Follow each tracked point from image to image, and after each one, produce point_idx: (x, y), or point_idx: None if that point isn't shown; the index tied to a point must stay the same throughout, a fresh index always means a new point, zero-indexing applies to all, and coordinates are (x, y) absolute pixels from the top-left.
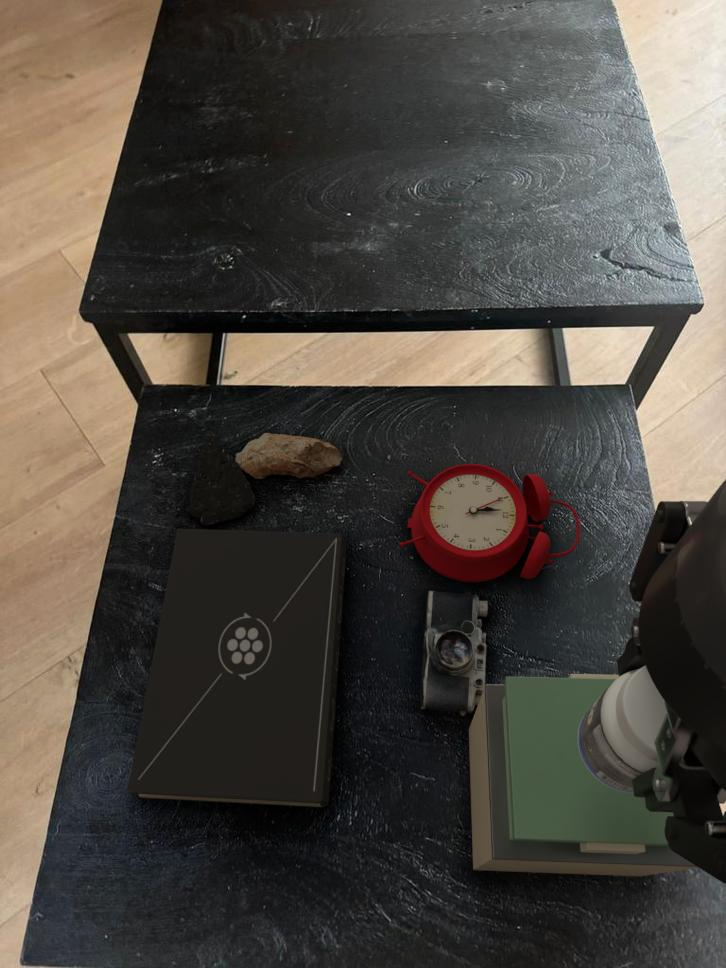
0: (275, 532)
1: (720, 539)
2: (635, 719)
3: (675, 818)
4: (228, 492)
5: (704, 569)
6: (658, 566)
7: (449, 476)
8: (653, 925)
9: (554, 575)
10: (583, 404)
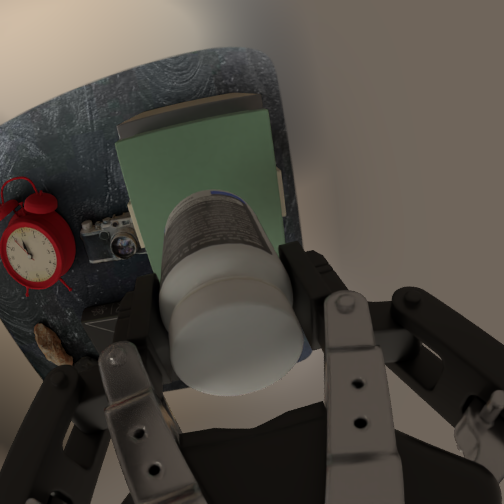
0: (97, 351)
1: None
2: (262, 384)
3: (396, 373)
4: (87, 368)
5: None
6: (87, 487)
7: (17, 275)
8: (260, 84)
9: (48, 179)
10: None
